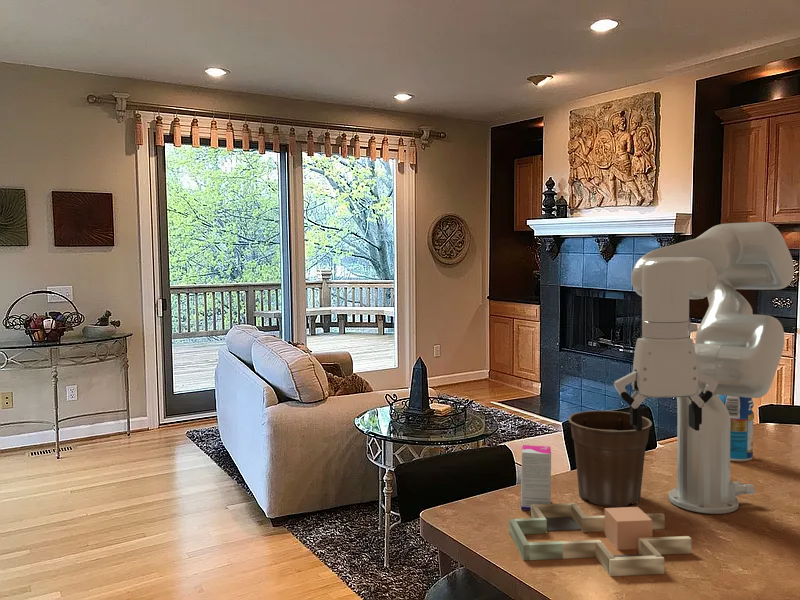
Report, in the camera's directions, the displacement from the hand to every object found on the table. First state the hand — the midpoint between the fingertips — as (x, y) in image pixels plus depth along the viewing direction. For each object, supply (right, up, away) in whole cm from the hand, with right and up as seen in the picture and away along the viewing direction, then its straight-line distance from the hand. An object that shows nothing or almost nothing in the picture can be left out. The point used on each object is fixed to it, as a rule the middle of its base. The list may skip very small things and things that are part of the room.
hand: (665, 428), depth 115 cm
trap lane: (-12, -19, -1) cm, 23 cm away
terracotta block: (-7, -20, -1) cm, 21 cm away
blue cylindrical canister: (+35, -16, +45) cm, 59 cm away
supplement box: (-19, -19, +17) cm, 32 cm away
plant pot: (-3, -18, +21) cm, 28 cm away
